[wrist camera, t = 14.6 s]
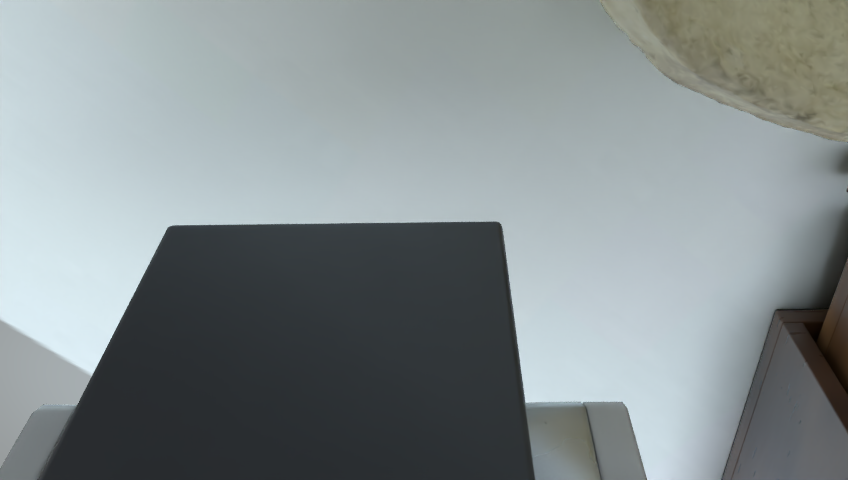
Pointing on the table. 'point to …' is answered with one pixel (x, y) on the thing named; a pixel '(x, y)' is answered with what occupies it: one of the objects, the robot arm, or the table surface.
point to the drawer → (837, 331)
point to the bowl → (751, 55)
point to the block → (310, 360)
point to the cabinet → (792, 409)
